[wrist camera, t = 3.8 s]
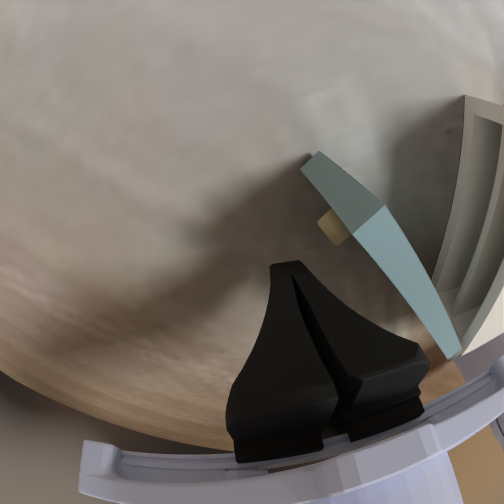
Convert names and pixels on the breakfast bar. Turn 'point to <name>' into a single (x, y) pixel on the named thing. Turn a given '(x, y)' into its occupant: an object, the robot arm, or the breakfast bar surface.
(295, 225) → the breakfast bar surface
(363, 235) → the door
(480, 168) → the cabinet
